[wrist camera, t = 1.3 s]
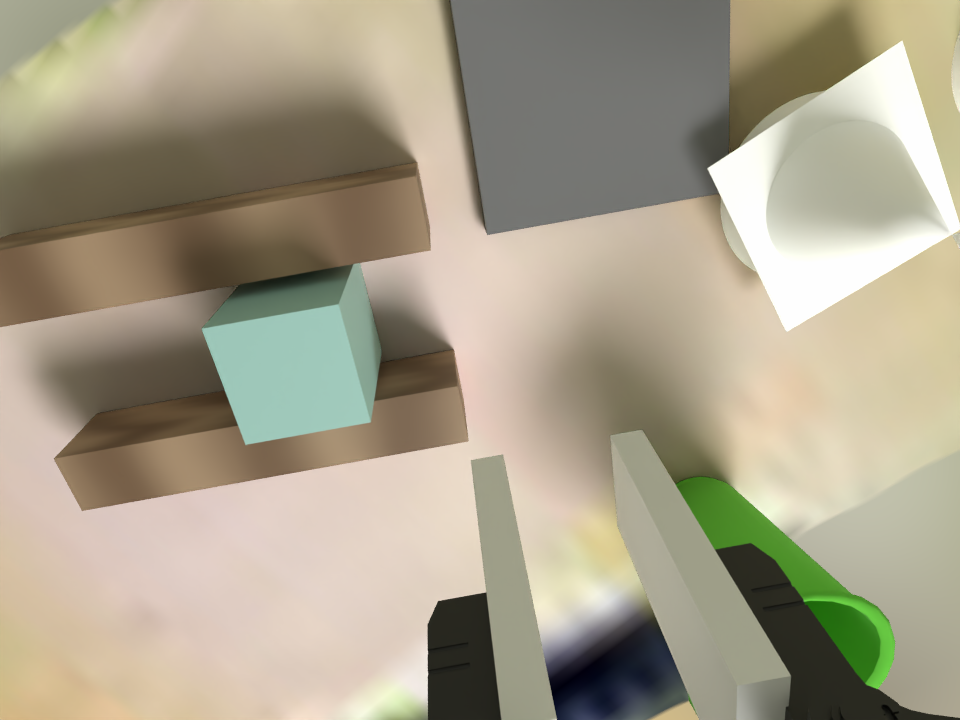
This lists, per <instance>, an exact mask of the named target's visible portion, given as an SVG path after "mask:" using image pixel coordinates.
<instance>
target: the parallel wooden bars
mask: <svg viewBox="0 0 960 720" xmlns="http://www.w3.org/2000/svg"><path fill="white" fill-rule="evenodd" d="M429 250H431V246H430V225H429V220H428V215H427V210H426V205H425V200H424V195H423V190H422V185H421V179H420V174H419V169H418V164H417V162H416V163H411V164H405V165H399V166H394V167H388V168H382V169H377V170H371V171H366V172H360V173H354V174H349V175H343V176H337V177H332V178H326V179H321V180H315V181H309V182H304V183H298V184H292V185H287V186H281V187H276V188H270V189H264V190H259V191H253V192H247V193H242V194H236V195H231V196H225V197H219V198H214V199H208V200H202V201H197V202H191V203H186V204H180V205H174V206H169V207H163V208H157V209H152V210H146V211H141V212H135V213H129V214H124V215H118V216H112V217H107V218H101V219H96V220H90V221H84V222H79V223H73V224H67V225H62V226H56V227H51V228H45V229H39V230H34V231H28V232H22V233H17V234H11V235H8V236H5V237H3V238H0V327H3V326H9V325H15V324H20V323H26V322H31V321H37V320H43V319H48V318H54V317H59V316H65V315H71V314H76V313H82V312H87V311H93V310H99V309H104V308H110V307H115V306H121V305H127V304H132V303H138V302H143V301H149V300H155V299H160V298H166V297H172V296H177V295H183V294H188V293H194V292H200V291H205V290H211V289H216V288H222V287H228V286H233V285H239V284H244V283H250V282H256V281H261V280H267V279H272V278H278V277H284V276H289V275H295V274H300V273H306V272H312V271H317V270H323V269H328V268H334V267H340V266H345V265H351V264H356V263H362V262H368V261H373V260H379V259H384V258H390V257H396V256H401V255H407V254H412V253H418V252H424V251H429ZM467 441H468V433H467V425H466V416H465V408H464V399H463V394H462V389H461V384H460V379H459V374H458V369H457V364H456V358H455V353H454V350H449V351H443V352H438V353H432V354H427V355H421V356H416V357H410V358H404V359H399V360H393V361H388V362H382V363H380V366H379V373H378V379H377V386H376V392H375V398H374V405H373V411H372V417H371V422H370V423H364V424H359V425H353V426H348V427H342V428H337V429H331V430H325V431H320V432H314V433H309V434H303V435H297V436H292V437H286V438H281V439H275V440H270V441H264V442H258V443H253V444H247V445H245V442H244V440H243V437H242V434H241V432H240V429H239V426H238V424H237V421H236V418H235V416H234V413H233V410H232V408H231V405H230V403H229V400H228V397H227V395H226V392H225V391H220V392H215V393H209V394H204V395H198V396H192V397H187V398H181V399H176V400H170V401H165V402H159V403H153V404H148V405H142V406H137V407H131V408H126V409H120V410H114V411H109V412H103V413H98V414H96V415H95V416H94V417H93V418H92V419H91V420H90V421H89V423H88V424H87V425H86V426H85V427H84V428H83V429H82V430H81V431H80V432H79V433H78V434H77V435H76V436H75V437H74V438H73V439H72V440H71V441H70V442H69V443H68V444H67V446H66V447H65V448H64V449H63V450H62V451H61V452H60V453H59V454H58V455H57V456H56V457H55V458H54V460H55V462H56V464H57V465H58V467H59V469H60V471H61V473H62V475H63V476H64V478H65V480H66V482H67V484H68V486H69V488H70V489H71V491H72V493H73V495H74V497H75V499H76V500H77V502H78V504H79V506H80V508H81V510H82V511H84V510H90V509H95V508H101V507H106V506H112V505H117V504H123V503H128V502H134V501H140V500H145V499H151V498H156V497H162V496H167V495H173V494H178V493H184V492H190V491H195V490H201V489H206V488H212V487H217V486H223V485H228V484H234V483H240V482H245V481H251V480H256V479H262V478H267V477H273V476H278V475H284V474H290V473H295V472H301V471H306V470H312V469H317V468H323V467H328V466H334V465H339V464H345V463H351V462H356V461H362V460H367V459H373V458H378V457H384V456H389V455H395V454H401V453H406V452H412V451H417V450H423V449H428V448H434V447H439V446H445V445H451V444H456V443H462V442H467Z"/></svg>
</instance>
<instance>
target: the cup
mask: <svg viewBox="0 0 960 720" xmlns="http://www.w3.org/2000/svg"><path fill="white" fill-rule="evenodd" d="M675 485H676V487H677V488H678V490H679V491H680V493H681V495H682V496H683V498H684V500H685V501H686V503H687V505H688V506H689V508H690V510H691V511H692V513H693V515H694V516H695V518H696V520H697V521H698V523H699V525H700V526H701V528H702V530H703V531H704V533H705V534H706V536H707V538H708V539H709V541H710V543H711V544H712V546H713V548H714V549H720V548H726V547H731V546H737V545H742V544H748V543H752V544H753V545H755V546H756V547H758V548H759V549H760V550H762V551H763V552H765V553H766V554H767V555H769V556H770V557H772V558H773V559H774V560H776V562H777V563H778V565H779V566H780V567H781V569H782V570H783V572H784V573H785V574H786V576H787V577H788V579H789V580H790V581H791V585H792V587H793V586H794V587H795V588H796V590H797V591H798V593H799V594H800V595H801V597H802V598H803V600H804V603H805V605H808V607H809V608H810V609H811V611H812V612H813V614H814V615H815V616H816V618H817V619H818V621H819V622H820V623H821V625H822V626H823V628H824V629H825V630H826V632H827V633H828V635H829V636H830V637H831V639H832V640H833V642H834V643H835V644H836V646H837V647H838V649H839V650H840V651H841V653H842V654H843V655H844V657H845V658H846V660H847V661H848V662H849V664H850V665H851V667H852V668H853V669H854V671H855V672H856V673H857V675H858V676H859V677H860V678H861V679H862V680H863V681H864V683H865V684H866V685H868V686H871V687H873V688H876V689H878V688H879V687H880V685H881V684H882V682H883V681H884V680H885V678H886V677H887V675H888V672H889V670H890V667H891V665H892V662H893V660H894V648H895V640H894V636H893V632H892V629H891V626H890V623H889V620H888V619H887V618H886V616H885V615H884V614H883V613H882V612H881V610H880V609H879V608H878V607H877V606H875V605H874V604H872V603H870V602H869V601H867V600H865V599H864V598H862V597H859V596H856V595H852V594H851V593H850V592H849V591H848V590H847V589H846V588H844V587H843V586H842V585H841V584H840V583H839V582H838V581H837V580H835V579H834V578H833V577H832V576H831V575H830V574H829V573H828V572H826V571H825V570H824V569H823V568H822V567H821V566H820V565H819V564H818V563H816V562H815V561H814V560H813V559H812V558H811V557H810V556H808V555H807V554H806V553H805V552H804V551H803V550H802V549H801V548H800V547H799V546H797V545H796V544H795V543H794V542H793V541H792V540H791V539H790V538H789V537H787V536H786V535H785V534H784V533H783V532H782V531H781V530H780V529H779V528H777V527H776V526H775V525H774V524H773V523H772V522H771V521H770V520H768V519H767V518H766V517H765V516H764V515H763V514H762V513H761V512H760V511H758V510H757V509H756V508H755V507H754V506H753V505H752V504H751V503H749V502H748V501H747V500H746V499H745V498H744V497H743V496H742V495H741V494H739V493H738V492H737V491H736V490H735V489H734V488H733V487H731V486H730V485H728V484H727V483H725V482H723V481H719V480H717V479H714V478H710V477H694V478H689V479H686V480H683V481H680V482H678V483H677V484H675ZM688 696H689V694H688ZM689 702H690V704H691V705H692V707H693V709H694V710H695V708H694V706H693V704H692V701H691V699H690V697H689ZM695 712H696V711H695ZM696 714H697V713H696Z"/></svg>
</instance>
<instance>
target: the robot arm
mask: <svg viewBox="0 0 960 720" xmlns="http://www.w3.org/2000/svg"><path fill="white" fill-rule="evenodd" d="M610 441H611V453H612V465H613V477H614V489H615V501H616V513H617V526H618V529H619V531H620V533H621V536H622V538H623V540H624V543H625V545H626V548H627V550H628V552H629V555H630V557H631V559H632V562H633V564H634V567H635V569H636V571H637V574H638V576H639V578H640V581H641V583H642V585H643V588H644V590H645V593H646V595H647V597H648V600H649V602H650V604H651V607H652V609H653V611H654V614H655V616H656V619H657V621H658V623H659V626H660V628H661V630H662V633H663V635H664V637H665V640H666V642H667V645H668V647H669V649H670V652H671V654H672V656H673V659H674V661H675V664H676V666H677V668H678V671H679V673H680V675H681V678H682V680H683V682H684V685H685V687H686V690H687V692H688V694H689V697H690V699H691V701H692V704H693V706H694V708H695V711H696V713H697V716H698V718H699V720H960V718H955V717H947V716H939V715H932V714H926V713H921V712H917V711H912V710H909V709H907V708H904V707H902V706H900V705H899V704H898V703H897V702H895V701H894V700H893V699H891V698H890V697H888V696H887V695H886V694H884V693H883V692H881V691H880V690H878V689H876V688H873V687H871V686H868V685H866V684H865V683H864V681H863V680H862V679H861V678H860V677H859V676H858V675H857V673H856V672H855V671H854V669H853V668H852V667H851V665H850V664H849V662H848V661H847V660H846V658H845V657H844V655H843V654H842V653H841V651H840V650H839V649H838V647H837V646H836V644H835V643H834V642H833V640H832V639H831V637H830V636H829V635H828V633H827V632H826V630H825V629H824V628H823V626H822V625H821V623H820V622H819V621H818V619H817V618H816V616H815V615H814V614H813V612H812V611H811V609H810V608H809V607H808V605H805V603H804V600H803V598H802V597H801V595H800V594H799V593H798V591H797V590H796V588H795V587H794V586H793V587H792V585H791V581H790V580H789V579H788V577H787V576H786V574H785V573H784V572H783V570H782V569H781V567H780V566H779V565H778V563H777V562H776V560H774V559H773V558H772V557H770V556H769V555H767V554H766V553H765V552H763V551H762V550H760V549H759V548H758V547H756V546H755V545H753V544H752V543H748V544H742V545H737V546H731V547H726V548H720V549H714V548H713V546H712V544H711V543H710V541H709V539H708V538H707V536H706V534H705V533H704V531H703V530H702V528H701V526H700V525H699V523H698V521H697V520H696V518H695V516H694V515H693V513H692V511H691V510H690V508H689V506H688V505H687V503H686V501H685V500H684V498H683V496H682V495H681V493H680V491H679V490H678V488H677V487H676V485H675V483H674V482H673V480H672V478H671V477H670V475H669V473H668V472H667V470H666V468H665V467H664V465H663V463H662V462H661V460H660V458H659V457H658V455H657V453H656V452H655V450H654V449H653V447H652V445H651V444H650V442H649V440H648V439H647V437H646V435H645V434H644V432H643V430H637V431H631V432H626V433H620V434H614V435H610ZM471 466H472V474H473V483H474V491H475V500H476V508H477V517H478V525H479V534H480V542H481V551H482V559H483V568H484V576H485V584H486V593H481V594H475V595H470V596H464V597H459V598H453V599H448V600H442V601H438V603H437V605H436V607H435V609H434V612H433V614H432V616H431V618H430V621H429V623H428V720H557V718H556V713H555V708H554V704H553V699H552V694H551V689H550V684H549V679H548V674H547V669H546V664H545V659H544V654H543V649H542V644H541V640H540V635H539V630H538V625H537V620H536V615H535V610H534V605H533V600H532V595H531V590H530V585H529V580H528V576H527V571H526V566H525V561H524V556H523V551H522V546H521V541H520V536H519V531H518V526H517V521H516V516H515V512H514V507H513V502H512V497H511V492H510V487H509V482H508V477H507V472H506V467H505V462H504V457H503V455H498V456H492V457H487V458H481V459H476V460H471Z"/></svg>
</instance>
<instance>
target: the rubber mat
mask: <svg viewBox="0 0 960 720" xmlns="http://www.w3.org/2000/svg"><path fill="white" fill-rule="evenodd" d="M450 6H451V12H452V18H453V25H454V31H455V37H456V44H457V50H458V57H459V63H460V69H461V76H462V82H463V88H464V95H465V101H466V107H467V114H468V120H469V127H470V133H471V139H472V146H473V152H474V158H475V165H476V171H477V177H478V184H479V190H480V197H481V203H482V209H483V216H484V222H485V228H486V232H487V235H490V234H495V233H501V232H506V231H512V230H518V229H523V228H529V227H534V226H540V225H546V224H551V223H557V222H563V221H568V220H574V219H579V218H585V217H591V216H596V215H602V214H607V213H613V212H619V211H624V210H630V209H635V208H641V207H647V206H652V205H658V204H663V203H669V202H675V201H680V200H686V199H691V198H697V197H703V196H708V195H714V194H719V192H718V189H717V187H716V185H715V183H714V181H713V179H712V177H711V175H710V173H709V171H708V169H707V168H709V167H710V166H712V165H713V164H715V163H716V162H718V161H719V160H721V159H722V158H724V157H725V156H727V155H728V154H729V69H730V0H450Z"/></svg>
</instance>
